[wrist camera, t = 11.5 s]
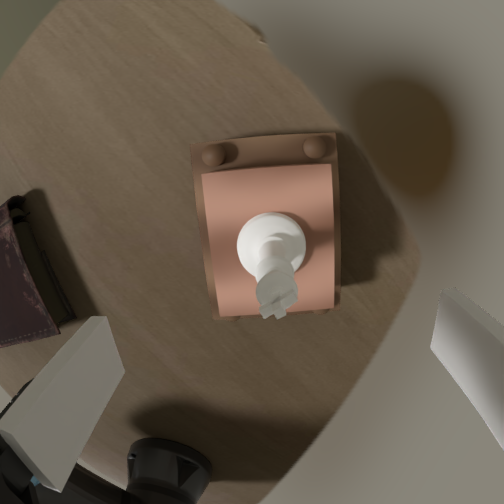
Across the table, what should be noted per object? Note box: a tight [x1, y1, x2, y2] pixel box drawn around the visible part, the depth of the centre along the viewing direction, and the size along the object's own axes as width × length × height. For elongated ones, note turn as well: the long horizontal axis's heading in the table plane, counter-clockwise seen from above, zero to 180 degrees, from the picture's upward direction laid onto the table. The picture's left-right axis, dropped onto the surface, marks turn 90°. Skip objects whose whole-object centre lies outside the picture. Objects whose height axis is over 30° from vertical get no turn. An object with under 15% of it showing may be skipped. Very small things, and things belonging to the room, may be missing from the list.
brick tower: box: [190, 133, 341, 321], centre depth 26 cm, size 16×12×9 cm
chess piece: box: [237, 212, 306, 319], centre depth 17 cm, size 5×5×10 cm
